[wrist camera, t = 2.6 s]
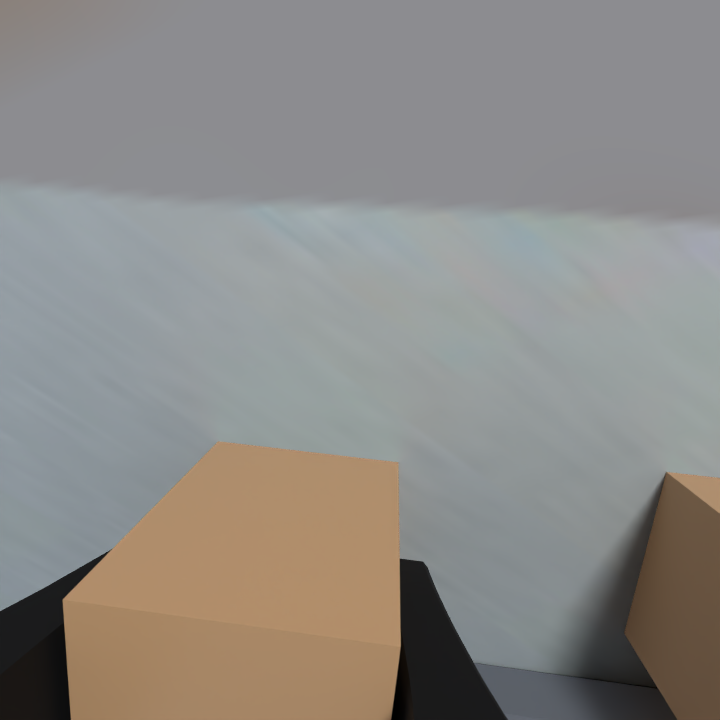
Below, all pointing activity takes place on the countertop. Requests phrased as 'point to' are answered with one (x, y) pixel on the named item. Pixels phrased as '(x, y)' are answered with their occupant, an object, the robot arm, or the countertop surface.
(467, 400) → the countertop surface
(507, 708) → the tray
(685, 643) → the block
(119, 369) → the countertop surface
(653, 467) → the countertop surface
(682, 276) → the countertop surface
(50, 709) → the robot arm
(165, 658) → the block
